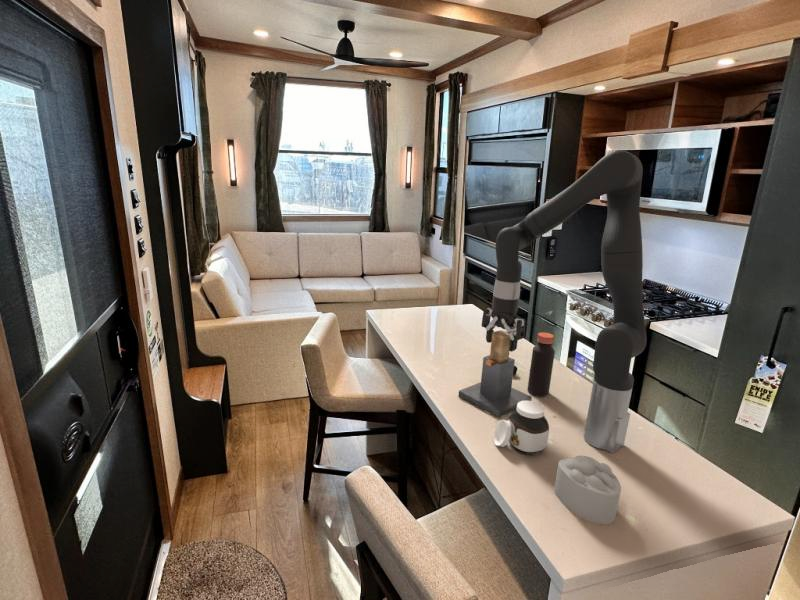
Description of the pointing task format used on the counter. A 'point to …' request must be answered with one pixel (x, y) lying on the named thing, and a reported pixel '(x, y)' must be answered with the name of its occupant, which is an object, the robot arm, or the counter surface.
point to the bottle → (541, 365)
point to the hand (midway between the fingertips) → (500, 346)
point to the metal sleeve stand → (495, 389)
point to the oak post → (500, 346)
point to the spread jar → (524, 429)
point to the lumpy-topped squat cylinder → (588, 489)
